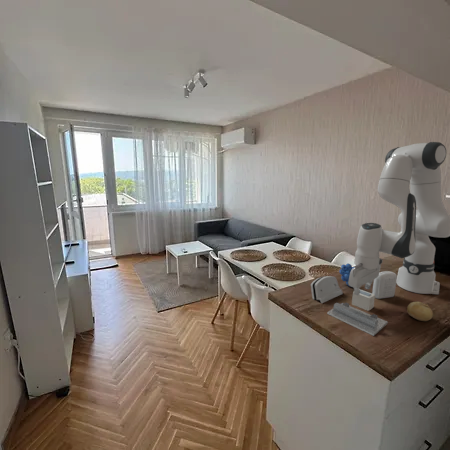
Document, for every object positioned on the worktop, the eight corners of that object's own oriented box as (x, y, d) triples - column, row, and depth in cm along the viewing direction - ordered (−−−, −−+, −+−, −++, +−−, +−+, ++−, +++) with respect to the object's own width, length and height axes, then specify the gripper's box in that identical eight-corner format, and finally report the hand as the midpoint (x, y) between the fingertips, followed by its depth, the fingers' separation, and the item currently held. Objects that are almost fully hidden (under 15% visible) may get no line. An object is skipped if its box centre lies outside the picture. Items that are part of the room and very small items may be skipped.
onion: (410, 321, 95) (413, 305, 94) (403, 311, 103) (405, 295, 101) (435, 325, 93) (438, 308, 91) (426, 314, 100) (428, 298, 99)
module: (357, 300, 112) (358, 288, 110) (373, 307, 106) (375, 294, 105) (351, 304, 109) (353, 291, 107) (368, 311, 103) (369, 297, 102)
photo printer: (388, 292, 118) (391, 268, 116) (395, 297, 114) (399, 272, 112) (370, 295, 116) (372, 271, 113) (377, 299, 112) (380, 274, 109)
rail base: (342, 304, 109) (342, 296, 108) (387, 323, 94) (388, 314, 94) (327, 313, 102) (327, 305, 101) (373, 336, 87) (374, 326, 87)
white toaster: (321, 303, 110) (316, 281, 110) (313, 302, 114) (308, 281, 114) (343, 293, 118) (338, 273, 119) (334, 292, 122) (330, 273, 123)
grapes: (333, 284, 128) (335, 262, 125) (341, 281, 132) (343, 260, 129) (355, 293, 118) (358, 269, 116) (363, 289, 122) (365, 266, 120)
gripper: (362, 269, 95) (357, 301, 97) (384, 258, 106) (380, 288, 109) (346, 264, 100) (342, 295, 102) (369, 254, 111) (365, 282, 114)
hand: (362, 291), depth 106 cm, fingers open, 8 cm apart
